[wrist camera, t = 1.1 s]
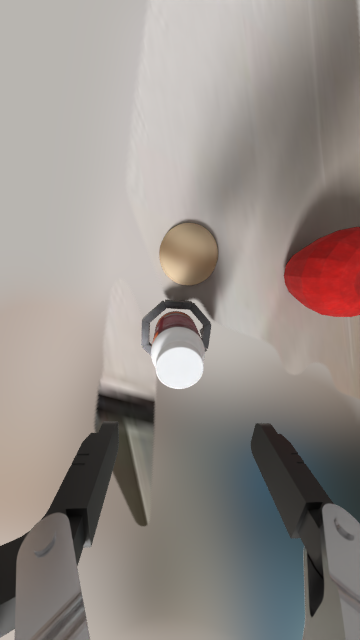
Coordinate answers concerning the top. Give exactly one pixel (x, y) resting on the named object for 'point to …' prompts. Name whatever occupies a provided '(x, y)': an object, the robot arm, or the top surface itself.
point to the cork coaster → (188, 254)
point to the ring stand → (175, 305)
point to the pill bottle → (177, 351)
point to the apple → (328, 274)
